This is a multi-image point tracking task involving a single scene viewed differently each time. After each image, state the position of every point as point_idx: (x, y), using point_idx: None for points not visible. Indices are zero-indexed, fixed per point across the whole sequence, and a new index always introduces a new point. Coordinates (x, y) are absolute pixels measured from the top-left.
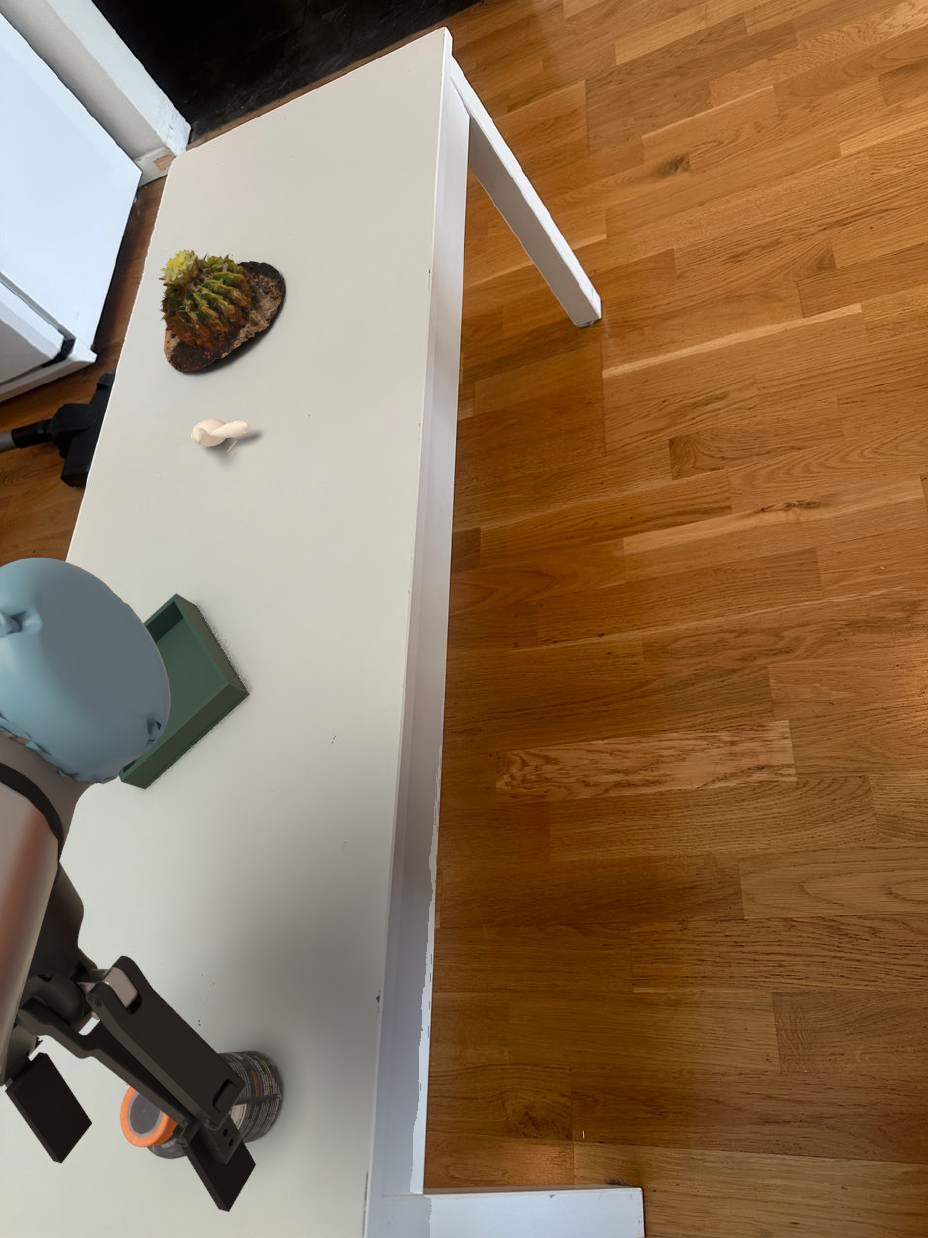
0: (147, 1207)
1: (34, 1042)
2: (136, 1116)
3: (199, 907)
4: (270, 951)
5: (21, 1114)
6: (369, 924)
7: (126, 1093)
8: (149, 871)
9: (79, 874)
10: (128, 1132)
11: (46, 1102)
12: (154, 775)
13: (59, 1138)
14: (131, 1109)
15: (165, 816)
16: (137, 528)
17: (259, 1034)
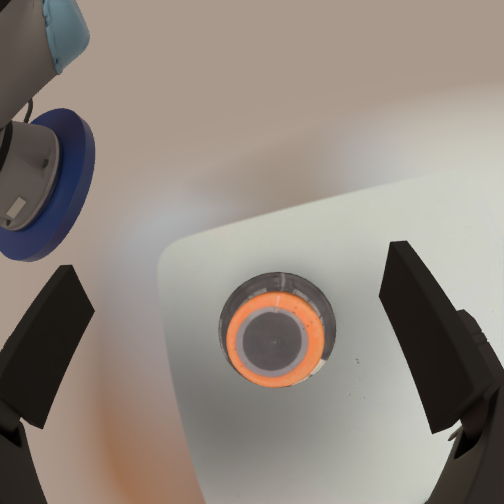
0: (361, 205)
1: (445, 467)
2: (284, 333)
3: (379, 442)
4: (292, 428)
5: (462, 323)
6: (197, 450)
7: (317, 357)
8: (434, 447)
9: None
10: (294, 308)
11: (425, 347)
12: None
13: (400, 279)
14: (299, 339)
15: (423, 482)
16: None
17: None
